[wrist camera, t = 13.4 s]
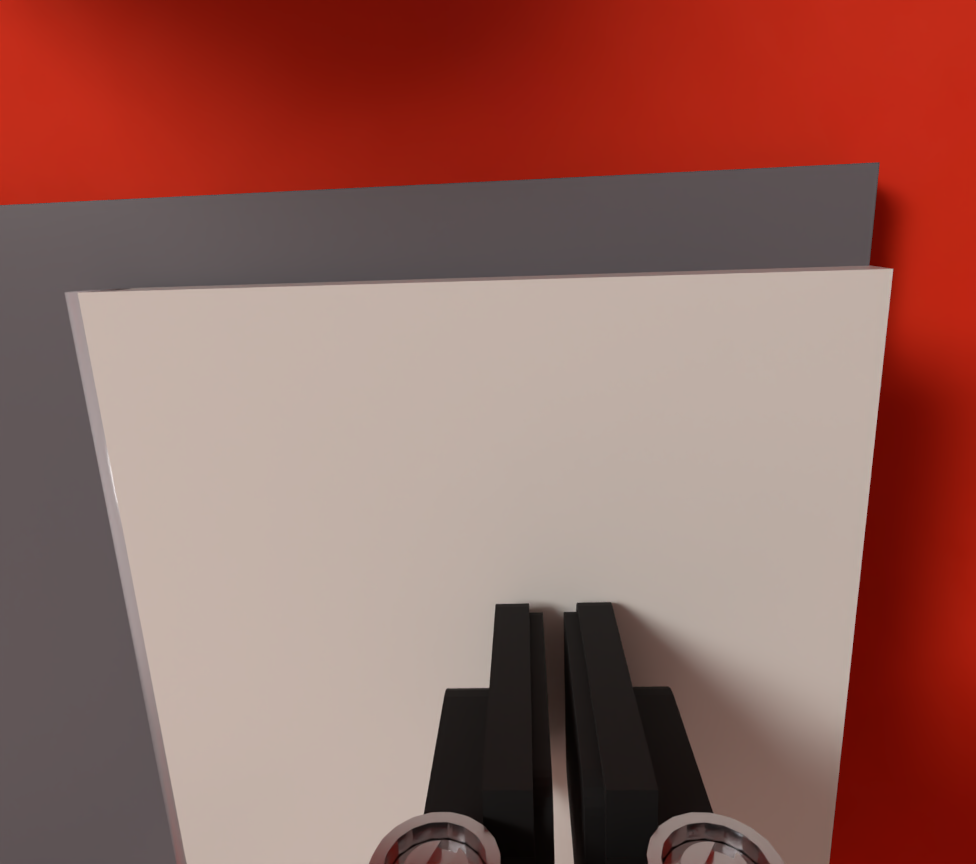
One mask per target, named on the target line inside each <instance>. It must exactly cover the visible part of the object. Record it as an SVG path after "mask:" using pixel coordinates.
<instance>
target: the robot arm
mask: <svg viewBox="0 0 976 864" xmlns="http://www.w3.org/2000/svg"><path fill="white" fill-rule="evenodd" d="M563 618H564V678H565V736H566V772H567V786H568V798H569V810H570V822H571V834H572V846H573V858H574V864H785V863H784V861H783V860H782V858H781V857H780V855H779V854H778V853H777V852H776V850H775V849H774V848H773V846H772V845H771V844H770V843H769V841H768V840H766V839H765V838H764V837H763V836H761V835H760V834H759V833H757V832H756V831H755V830H754V829H752V828H751V827H749V826H747V825H745V824H743V823H741V822H739V821H737V820H735V819H733V818H730V817H726V816H722V815H718V814H714V813H713V810H712V807H711V804H710V801H709V798H708V795H707V792H706V789H705V786H704V784H703V781H702V778H701V775H700V772H699V769H698V766H697V763H696V760H695V757H694V754H693V751H692V748H691V745H690V742H689V739H688V736H687V733H686V730H685V727H684V724H683V721H682V718H681V715H680V712H679V709H678V706H677V703H676V700H675V697H674V695H673V692H672V690H671V688H670V687H668V686H653V687H633V686H632V682H631V678H630V674H629V670H628V666H627V662H626V658H625V654H624V650H623V646H622V642H621V638H620V634H619V630H618V626H617V622H616V618H615V614H614V611H613V607H612V603H611V602H583V603H577V604H576V612H564V617H563ZM369 864H555V855H554V813H553V784H552V765H551V747H550V729H549V712H548V694H547V676H546V659H545V641H544V623H543V612H531V613H529V603H522V604H496V605H495V617H494V631H493V644H492V657H491V671H490V684H489V688H447V689H446V691H445V695H444V700H443V705H442V711H441V717H440V723H439V728H438V734H437V740H436V746H435V751H434V757H433V763H432V769H431V774H430V780H429V786H428V792H427V797H426V803H425V809H424V814H423V815H419V816H416V817H412V818H411V819H409V820H407V821H405V822H403V823H401V824H399V825H398V826H396V827H395V828H394V829H393V830H391V831H390V832H389V833H388V834H387V835H386V836H385V837H384V838H383V839H382V840H381V842H380V843H379V845H378V847H377V848H376V850H375V852H374V853H373V855H372V857H371V860H370V862H369Z"/></svg>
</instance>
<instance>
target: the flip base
mask: <svg viewBox="0 0 976 864" xmlns="http://www.w3.org/2000/svg"><path fill="white" fill-rule="evenodd" d="M878 173H879V163H859V164H839V165H818V166H798V167H777V168H756V169H736V170H715V171H695V172H674V173H654V174H633V175H613V176H592V177H572V178H551V179H531V180H510V181H490V182H469V183H449V184H428V185H408V186H387V187H367V188H346V189H326V190H305V191H285V192H264V193H244V194H223V195H203V196H182V197H162V198H141V199H121V200H100V201H80V202H59V203H39V204H18V205H0V864H176V860H175V854H174V849H173V844H172V839H171V834H170V829H169V824H168V819H167V814H166V809H165V803H164V798H163V793H162V788H161V783H160V778H159V773H158V768H157V763H156V758H155V752H154V747H153V742H152V737H151V732H150V727H149V722H148V717H147V712H146V706H145V701H144V696H143V691H142V686H141V681H140V676H139V671H138V666H137V661H136V655H135V650H134V645H133V640H132V635H131V630H130V625H129V620H128V615H127V610H126V604H125V599H124V594H123V589H122V584H121V579H120V574H119V569H118V564H117V558H116V553H115V548H114V543H113V538H112V533H111V528H110V523H109V518H108V513H107V507H106V502H105V497H104V492H103V487H102V482H101V477H100V472H99V467H98V462H97V456H96V451H95V446H94V441H93V436H92V431H91V426H90V421H89V416H88V410H87V405H86V400H85V395H84V390H83V385H82V380H81V375H80V370H79V365H78V359H77V354H76V349H75V344H74V339H73V334H72V329H71V324H70V319H69V314H68V308H67V303H66V298H65V293H64V292H71V291H82V290H97V289H117V288H149V287H182V286H215V285H248V284H281V283H314V282H347V281H379V280H412V279H445V278H478V277H511V276H544V275H577V274H610V273H642V272H675V271H708V270H741V269H774V268H807V267H840V266H869V264H870V254H871V244H872V234H873V224H874V213H875V203H876V193H877V183H878Z"/></svg>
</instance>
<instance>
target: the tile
mask: <svg viewBox="0 0 976 864" xmlns="http://www.w3.org/2000/svg"><path fill="white" fill-rule="evenodd" d="M892 276H893V269H891V268H884V267H877V266H840V267H807V268H774V269H741V270H708V271H675V272H642V273H610V274H577V275H544V276H511V277H478V278H445V279H412V280H379V281H347V282H314V283H281V284H248V285H215V286H182V287H149V288H117V289H97V290H82V291H71V292H64V293H65V298H66V303H67V308H68V314H69V319H70V324H71V329H72V334H73V339H74V344H75V349H76V354H77V359H78V365H79V370H80V375H81V380H82V385H83V390H84V395H85V400H86V405H87V410H88V416H89V421H90V426H91V431H92V436H93V441H94V446H95V451H96V456H97V462H98V467H99V472H100V477H101V482H102V487H103V492H104V497H105V502H106V507H107V513H108V518H109V523H110V528H111V533H112V538H113V543H114V548H115V553H116V558H117V564H118V569H119V574H120V579H121V584H122V589H123V594H124V599H125V604H126V610H127V615H128V620H129V625H130V630H131V635H132V640H133V645H134V650H135V655H136V661H137V666H138V671H139V676H140V681H141V686H142V691H143V696H144V701H145V706H146V712H147V717H148V722H149V727H150V732H151V737H152V742H153V747H154V752H155V758H156V763H157V768H158V773H159V778H160V783H161V788H162V793H163V798H164V803H165V809H166V814H167V819H168V824H169V829H170V834H171V839H172V844H173V849H174V854H175V860H176V864H369V862H370V860H371V857H372V855H373V853H374V852H375V850H376V848H377V847H378V845H379V843H380V842H381V840H382V839H383V838H384V837H385V836H386V835H387V834H388V833H389V832H390V831H391V830H393V829H394V828H395V827H396V826H398V825H399V824H401V823H403V822H405V821H407V820H409V819H411V818H412V817H416V816H419V815H423V814H424V809H425V803H426V797H427V792H428V786H429V780H430V774H431V769H432V763H433V757H434V751H435V746H436V740H437V734H438V728H439V723H440V717H441V711H442V705H443V700H444V695H445V691H446V689H447V688H489V684H490V671H491V657H492V644H493V631H494V617H495V605H496V604H522V603H529V613H531V612H543V623H544V641H545V659H546V676H547V694H548V712H549V729H550V747H551V765H552V784H553V813H554V855H555V864H574V858H573V846H572V834H571V822H570V810H569V798H568V786H567V772H566V736H565V678H564V618H563V617H564V612H576V604H577V603H583V602H611V603H612V607H613V611H614V614H615V618H616V622H617V626H618V630H619V634H620V638H621V642H622V646H623V650H624V654H625V658H626V662H627V666H628V670H629V674H630V678H631V682H632V686H633V687H653V686H668V687H670V688H671V690H672V692H673V695H674V697H675V700H676V703H677V706H678V709H679V712H680V715H681V718H682V721H683V724H684V727H685V730H686V733H687V736H688V739H689V742H690V745H691V748H692V751H693V754H694V757H695V760H696V763H697V766H698V769H699V772H700V775H701V778H702V781H703V784H704V786H705V789H706V792H707V795H708V798H709V801H710V804H711V807H712V810H713V813H714V814H718V815H722V816H726V817H730V818H733V819H735V820H737V821H739V822H741V823H743V824H745V825H747V826H749V827H751V828H752V829H754V830H755V831H756V832H757V833H759V834H760V835H761V836H763V837H764V838H765V839H766V840H768V841H769V843H770V844H771V845H772V846H773V848H774V849H775V850H776V852H777V853H778V854H779V855H780V857H781V858H782V860H783V861H784V863H785V864H829V861H830V852H831V842H832V833H833V824H834V815H835V805H836V796H837V787H838V777H839V768H840V759H841V750H842V740H843V731H844V722H845V712H846V703H847V694H848V684H849V675H850V666H851V657H852V647H853V638H854V629H855V619H856V610H857V601H858V592H859V582H860V573H861V564H862V554H863V545H864V536H865V527H866V517H867V508H868V499H869V489H870V480H871V471H872V462H873V452H874V443H875V434H876V424H877V415H878V406H879V397H880V387H881V378H882V369H883V359H884V350H885V341H886V332H887V322H888V313H889V304H890V294H891V285H892Z"/></svg>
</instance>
